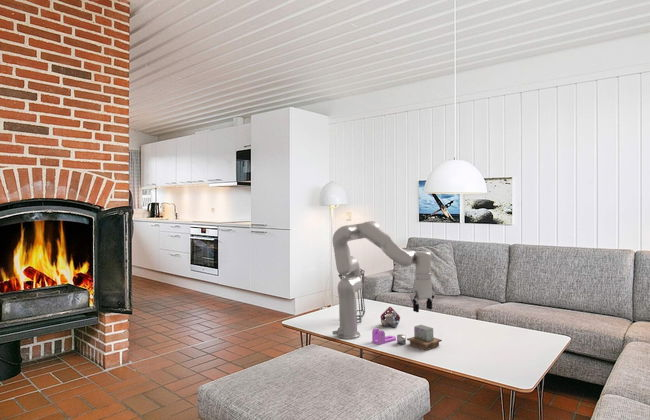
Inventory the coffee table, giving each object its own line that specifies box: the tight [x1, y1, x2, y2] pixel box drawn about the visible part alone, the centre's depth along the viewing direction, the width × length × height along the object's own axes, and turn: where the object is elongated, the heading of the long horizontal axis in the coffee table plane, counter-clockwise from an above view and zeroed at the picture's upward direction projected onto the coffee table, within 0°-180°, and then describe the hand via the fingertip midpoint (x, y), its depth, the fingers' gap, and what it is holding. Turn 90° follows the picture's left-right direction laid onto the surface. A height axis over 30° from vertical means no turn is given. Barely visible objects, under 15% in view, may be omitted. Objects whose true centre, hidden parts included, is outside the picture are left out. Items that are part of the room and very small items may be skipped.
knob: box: [396, 334, 407, 346], centre depth 214 cm, size 4×4×4 cm
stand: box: [406, 336, 443, 351], centre depth 210 cm, size 12×12×3 cm
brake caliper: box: [380, 306, 401, 329], centre depth 245 cm, size 11×11×12 cm
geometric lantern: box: [338, 268, 366, 324], centre depth 257 cm, size 16×16×35 cm
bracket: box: [371, 327, 397, 346], centre depth 218 cm, size 13×6×7 cm, turn 124°
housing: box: [413, 324, 434, 342], centre depth 211 cm, size 9×5×6 cm, turn 35°
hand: (422, 310), depth 211 cm, fingers open, 9 cm apart
